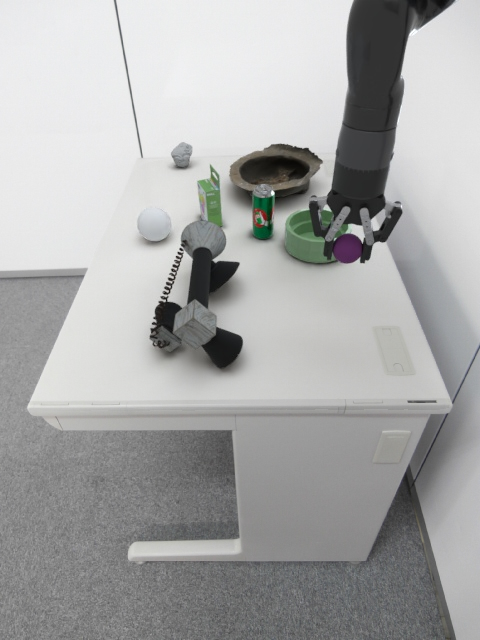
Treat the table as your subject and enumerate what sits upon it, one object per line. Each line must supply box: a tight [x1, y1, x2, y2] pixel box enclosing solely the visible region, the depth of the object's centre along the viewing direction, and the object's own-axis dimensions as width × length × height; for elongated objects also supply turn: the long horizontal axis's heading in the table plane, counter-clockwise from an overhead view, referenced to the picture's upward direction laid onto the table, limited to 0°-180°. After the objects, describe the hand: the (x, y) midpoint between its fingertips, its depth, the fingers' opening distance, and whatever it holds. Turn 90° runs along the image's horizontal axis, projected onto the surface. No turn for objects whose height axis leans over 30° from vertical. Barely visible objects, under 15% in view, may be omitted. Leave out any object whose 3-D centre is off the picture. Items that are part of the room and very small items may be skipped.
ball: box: [136, 206, 172, 242], centre depth 104 cm, size 8×8×8 cm
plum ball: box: [332, 232, 363, 265], centre depth 70 cm, size 5×5×5 cm
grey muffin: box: [170, 141, 193, 168], centre depth 134 cm, size 6×7×7 cm
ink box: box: [196, 163, 223, 228], centre depth 107 cm, size 7×4×13 cm, turn 20°
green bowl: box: [283, 207, 353, 264], centre depth 100 cm, size 15×15×6 cm
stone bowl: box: [228, 143, 324, 198], centre depth 120 cm, size 25×25×9 cm
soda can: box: [251, 184, 276, 240], centre depth 102 cm, size 5×5×12 cm
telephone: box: [149, 219, 244, 369], centre depth 82 cm, size 15×13×30 cm
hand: (345, 258), depth 72 cm, fingers closed on plum ball, 4 cm apart
